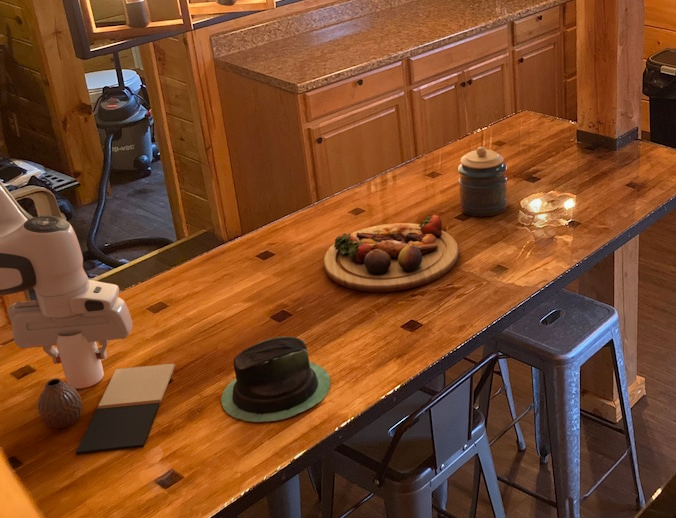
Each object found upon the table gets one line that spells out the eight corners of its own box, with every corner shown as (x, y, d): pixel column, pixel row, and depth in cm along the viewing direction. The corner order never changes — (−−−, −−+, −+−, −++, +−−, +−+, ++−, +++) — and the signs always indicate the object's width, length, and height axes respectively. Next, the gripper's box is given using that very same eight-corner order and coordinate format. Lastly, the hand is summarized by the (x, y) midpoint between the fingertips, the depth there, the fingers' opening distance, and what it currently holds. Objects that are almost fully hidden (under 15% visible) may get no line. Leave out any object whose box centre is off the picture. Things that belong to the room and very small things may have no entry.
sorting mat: (76, 454, 165) (75, 451, 165) (116, 371, 188) (115, 368, 188) (143, 447, 167) (142, 444, 167) (175, 365, 190) (174, 362, 189)
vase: (93, 416, 175) (83, 376, 172) (60, 438, 169) (49, 397, 166) (68, 406, 178) (57, 367, 174) (34, 427, 172) (22, 387, 168)
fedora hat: (295, 342, 196) (356, 382, 184) (229, 416, 188) (288, 462, 176) (256, 302, 185) (317, 341, 174) (184, 378, 177) (243, 424, 166)
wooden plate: (427, 220, 250) (424, 191, 247) (481, 270, 226) (480, 239, 223) (306, 251, 234) (302, 221, 231) (351, 308, 210) (347, 275, 206)
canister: (508, 197, 264) (506, 137, 257) (507, 217, 252) (505, 155, 245) (461, 198, 263) (458, 138, 256) (458, 218, 251) (454, 157, 244)
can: (76, 371, 188) (62, 319, 183) (109, 369, 188) (97, 318, 184) (61, 390, 182) (47, 337, 177) (96, 389, 182) (82, 336, 178)
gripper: (-2, 312, 173) (17, 375, 179) (118, 301, 177) (132, 363, 182) (11, 294, 179) (29, 356, 185) (127, 284, 182) (141, 345, 188)
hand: (81, 359), depth 183 cm, fingers closed on can, 6 cm apart
